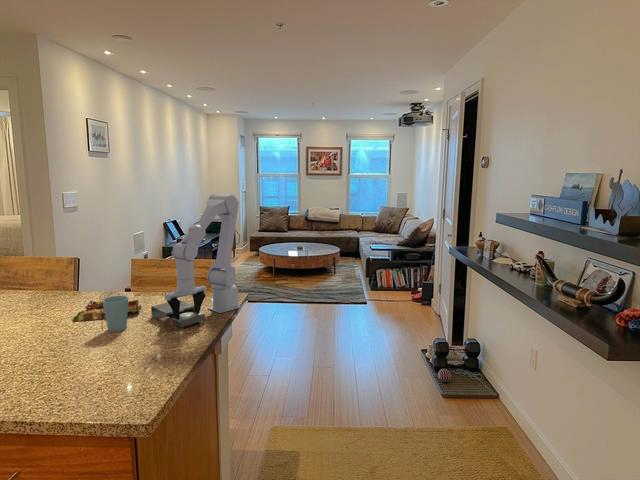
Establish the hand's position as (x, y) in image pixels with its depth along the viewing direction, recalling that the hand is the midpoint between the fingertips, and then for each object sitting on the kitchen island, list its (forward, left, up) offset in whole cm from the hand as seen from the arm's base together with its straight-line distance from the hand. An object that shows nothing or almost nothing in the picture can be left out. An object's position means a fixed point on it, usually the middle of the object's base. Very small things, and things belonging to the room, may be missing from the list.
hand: (187, 315), depth 140 cm
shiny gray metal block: (0, -10, -3) cm, 10 cm away
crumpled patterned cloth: (+13, -32, -4) cm, 34 cm away
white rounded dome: (0, 0, -1) cm, 1 cm away
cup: (+19, -12, -3) cm, 23 cm away
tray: (0, -1, -2) cm, 2 cm away
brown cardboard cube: (+8, 0, -3) cm, 8 cm away
